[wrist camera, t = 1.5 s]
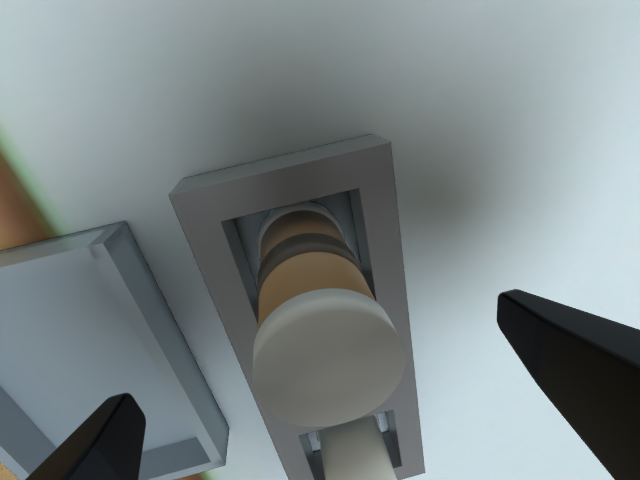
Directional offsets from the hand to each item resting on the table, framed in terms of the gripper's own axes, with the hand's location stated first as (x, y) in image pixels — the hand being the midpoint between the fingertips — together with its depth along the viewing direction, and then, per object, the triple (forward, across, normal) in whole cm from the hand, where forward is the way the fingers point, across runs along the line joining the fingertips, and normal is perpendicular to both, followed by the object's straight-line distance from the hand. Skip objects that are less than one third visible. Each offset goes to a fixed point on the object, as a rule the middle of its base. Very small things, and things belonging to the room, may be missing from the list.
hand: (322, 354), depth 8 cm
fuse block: (+6, 0, +5) cm, 8 cm away
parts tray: (+6, +10, +3) cm, 12 cm away
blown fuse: (+6, 0, 0) cm, 6 cm away
